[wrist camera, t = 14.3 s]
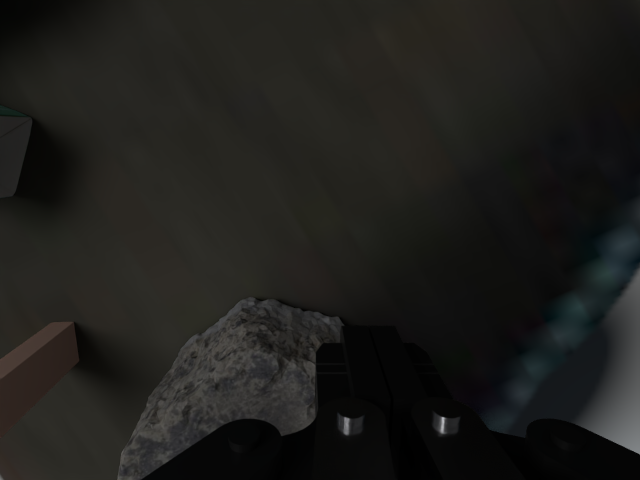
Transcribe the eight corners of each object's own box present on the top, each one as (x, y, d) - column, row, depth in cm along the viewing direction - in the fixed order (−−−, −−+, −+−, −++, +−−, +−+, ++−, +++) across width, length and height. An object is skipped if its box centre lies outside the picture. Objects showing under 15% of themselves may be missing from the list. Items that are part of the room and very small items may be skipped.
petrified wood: (408, 364, 43) (462, 480, 28) (299, 483, 45) (297, 645, 31) (256, 249, 40) (228, 313, 25) (148, 384, 42) (66, 513, 28)
